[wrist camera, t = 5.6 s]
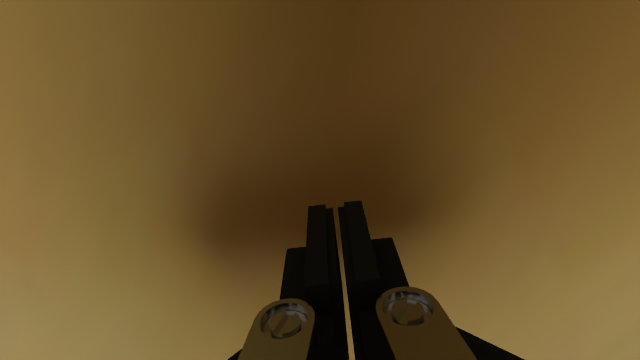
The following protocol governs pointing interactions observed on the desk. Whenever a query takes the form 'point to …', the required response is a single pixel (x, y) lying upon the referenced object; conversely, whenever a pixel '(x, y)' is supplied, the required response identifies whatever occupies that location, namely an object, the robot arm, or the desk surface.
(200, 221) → the desk surface
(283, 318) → the robot arm
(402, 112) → the desk surface
